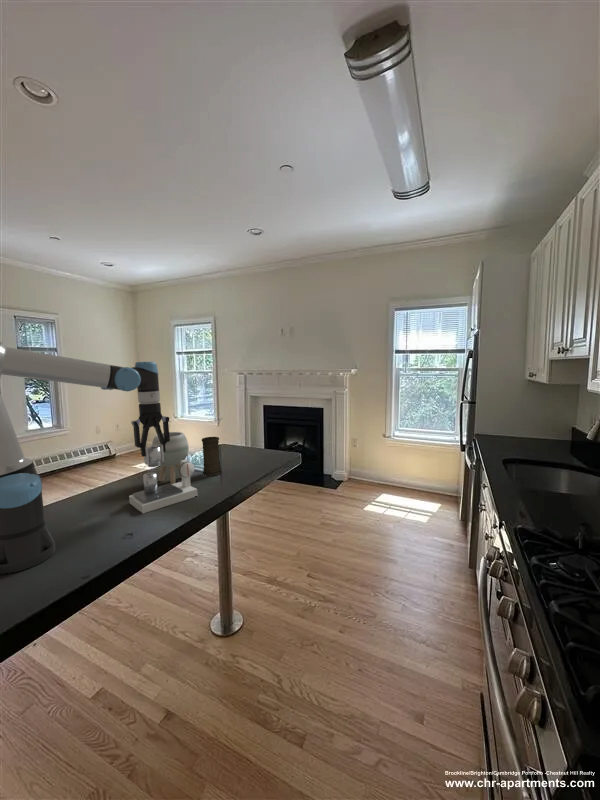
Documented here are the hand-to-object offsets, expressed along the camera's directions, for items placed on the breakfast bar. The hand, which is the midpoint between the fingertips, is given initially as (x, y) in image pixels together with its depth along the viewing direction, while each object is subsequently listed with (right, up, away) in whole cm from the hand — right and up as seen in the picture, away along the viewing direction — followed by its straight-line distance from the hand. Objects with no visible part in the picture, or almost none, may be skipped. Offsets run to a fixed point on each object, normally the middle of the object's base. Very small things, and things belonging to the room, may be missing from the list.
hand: (154, 462), depth 131 cm
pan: (-1, -14, +5) cm, 14 cm away
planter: (-4, -14, +29) cm, 32 cm away
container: (+12, -13, +39) cm, 43 cm away
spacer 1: (0, -1, 0) cm, 1 cm away
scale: (+1, -16, +7) cm, 18 cm away
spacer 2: (-4, -13, +6) cm, 14 cm away
